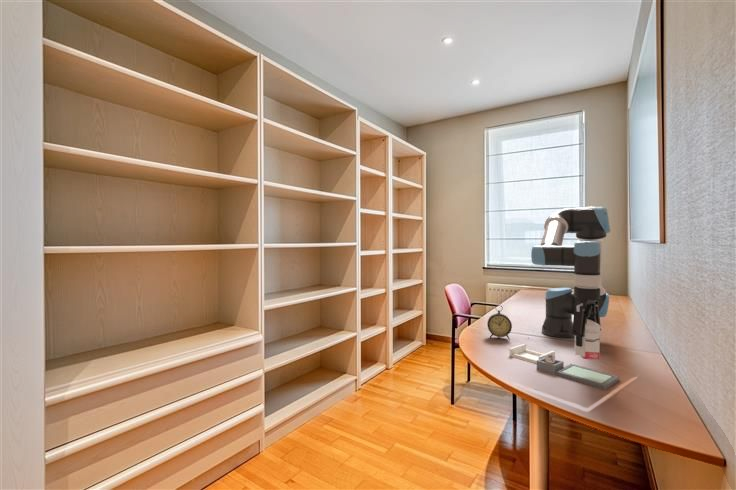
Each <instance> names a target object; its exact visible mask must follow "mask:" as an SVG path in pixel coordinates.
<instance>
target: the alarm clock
mask: <svg viewBox="0 0 736 490" xmlns="http://www.w3.org/2000/svg"><path fill="white" fill-rule="evenodd" d="M498 306H499V307H501V310H497V307H498ZM494 308H495V310H497V313H493V314H492V315H490V316H489V317H488V319H487V323H486V324H487V329H488V331H489V332H490V334H491V335H490V336H489V338H490V339H491V338H492V337H493V336H494V337H498V338H505V337H506V338H508V339H509V340H510V339H511V338H510V337H509V334H510V333H512V332H511V331H512V328H513V324H512V322H511V319H509V317H508V316H507V315H506V314H504V313H501V312H502V310H503V309H504V308H503V305H501V304H496V305H495V307H494Z"/></svg>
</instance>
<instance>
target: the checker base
mask: <svg viewBox="0 0 736 490" xmlns="http://www.w3.org/2000/svg"><path fill="white" fill-rule="evenodd" d="M572 366H576V367H580V368H583V369H587V370H590V371H594V372H598V373H601V374H605V375H609V376H612V378H610V379H609V380H607V381H606V382H604V383H602V384H601V383H598V382H595V381H591V380H588V379H584V378H581V377H578V376H574V375H571V374H567V373H564V372H562V371H564V370H566V369H568V368H570V367H572ZM554 375H556V376H558V377H561V378H565V379H567V380H571V381H574V382H578V383H581V384H584V385H588V386H590V387H593V388H594V387H595V388H597V389H601V390H602V391H603V390H604V391H606V390H607V389H608V388H610V387H612V386H613V385H615V384H616V383H618V382H619V381H620V376H617V375H614V374H611V373H607V372H603V371H599V370H595V369H594V368H593V369H592V368H588V367H584V366H580V365H577V364H573V363H569V364H566V366H564V367H563V368H561V369H559V370H557V371H555V374H554Z"/></svg>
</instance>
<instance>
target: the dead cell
mask: <svg viewBox="0 0 736 490" xmlns="http://www.w3.org/2000/svg"><path fill="white" fill-rule="evenodd" d="M555 360H556V356H555V357H554V356H552V355H546V356H545V362H546V363H550V364H553V365H554V364H555Z"/></svg>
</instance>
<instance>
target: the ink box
mask: <svg viewBox="0 0 736 490" xmlns="http://www.w3.org/2000/svg"><path fill="white" fill-rule="evenodd" d="M600 325H601V324H600ZM600 325H599V324H597V323H596V322H594V321H592V320H589V319H587V323H586V325H585V333H584V337H585V357H583V356H580V357H581V358H582V359H583V360H594V361H595V360H597V361H598V360H599V361H600V348H601V347H600V345H601V344H600V343H601V331H600V328H601V327H600ZM573 350H574V352H575V344H574V349H573Z"/></svg>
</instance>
